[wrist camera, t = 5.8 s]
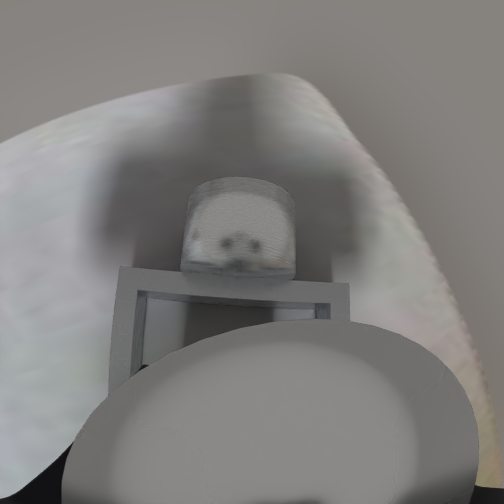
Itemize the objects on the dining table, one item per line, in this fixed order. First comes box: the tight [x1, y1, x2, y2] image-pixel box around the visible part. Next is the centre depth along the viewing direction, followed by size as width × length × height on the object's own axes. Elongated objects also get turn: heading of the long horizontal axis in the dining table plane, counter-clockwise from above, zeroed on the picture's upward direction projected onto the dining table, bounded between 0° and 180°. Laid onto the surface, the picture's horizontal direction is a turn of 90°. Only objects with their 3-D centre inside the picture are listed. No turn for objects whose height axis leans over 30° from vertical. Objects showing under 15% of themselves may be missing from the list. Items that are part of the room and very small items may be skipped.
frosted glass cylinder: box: [62, 319, 479, 504], centre depth 8 cm, size 6×6×13 cm
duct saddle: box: [108, 177, 350, 396], centre depth 15 cm, size 12×13×6 cm
